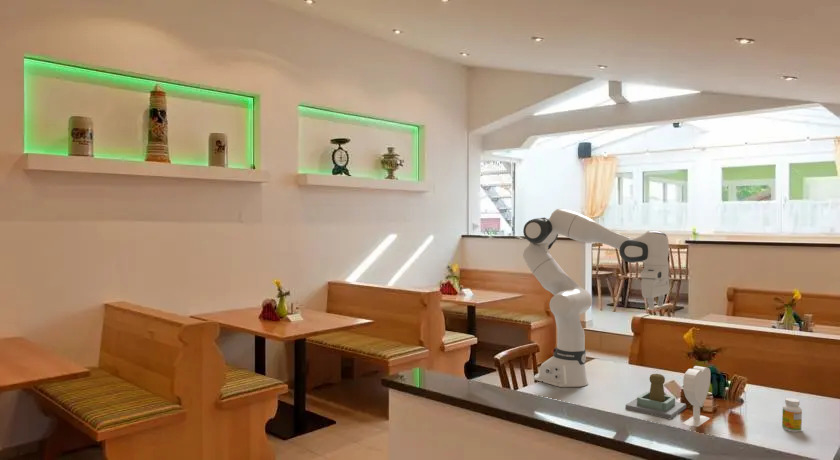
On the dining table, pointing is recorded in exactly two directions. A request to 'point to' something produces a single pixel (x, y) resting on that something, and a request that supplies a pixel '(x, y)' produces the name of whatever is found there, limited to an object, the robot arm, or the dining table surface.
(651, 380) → the olive green tapered cylinder
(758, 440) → the dining table surface
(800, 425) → the supplement bottle
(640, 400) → the housing
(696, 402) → the heart sculpture
